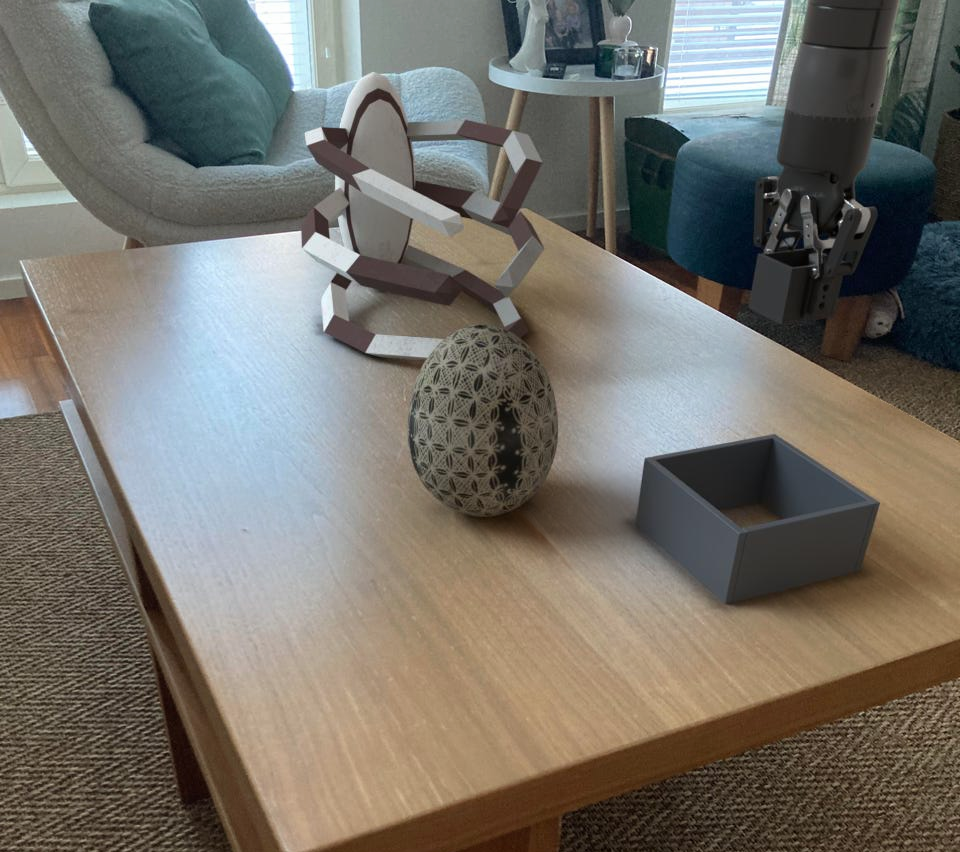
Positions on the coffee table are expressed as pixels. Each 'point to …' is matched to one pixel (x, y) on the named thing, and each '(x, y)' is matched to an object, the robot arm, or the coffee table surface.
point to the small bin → (785, 286)
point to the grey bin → (761, 548)
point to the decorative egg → (482, 422)
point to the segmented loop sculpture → (408, 216)
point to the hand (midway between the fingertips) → (791, 308)
